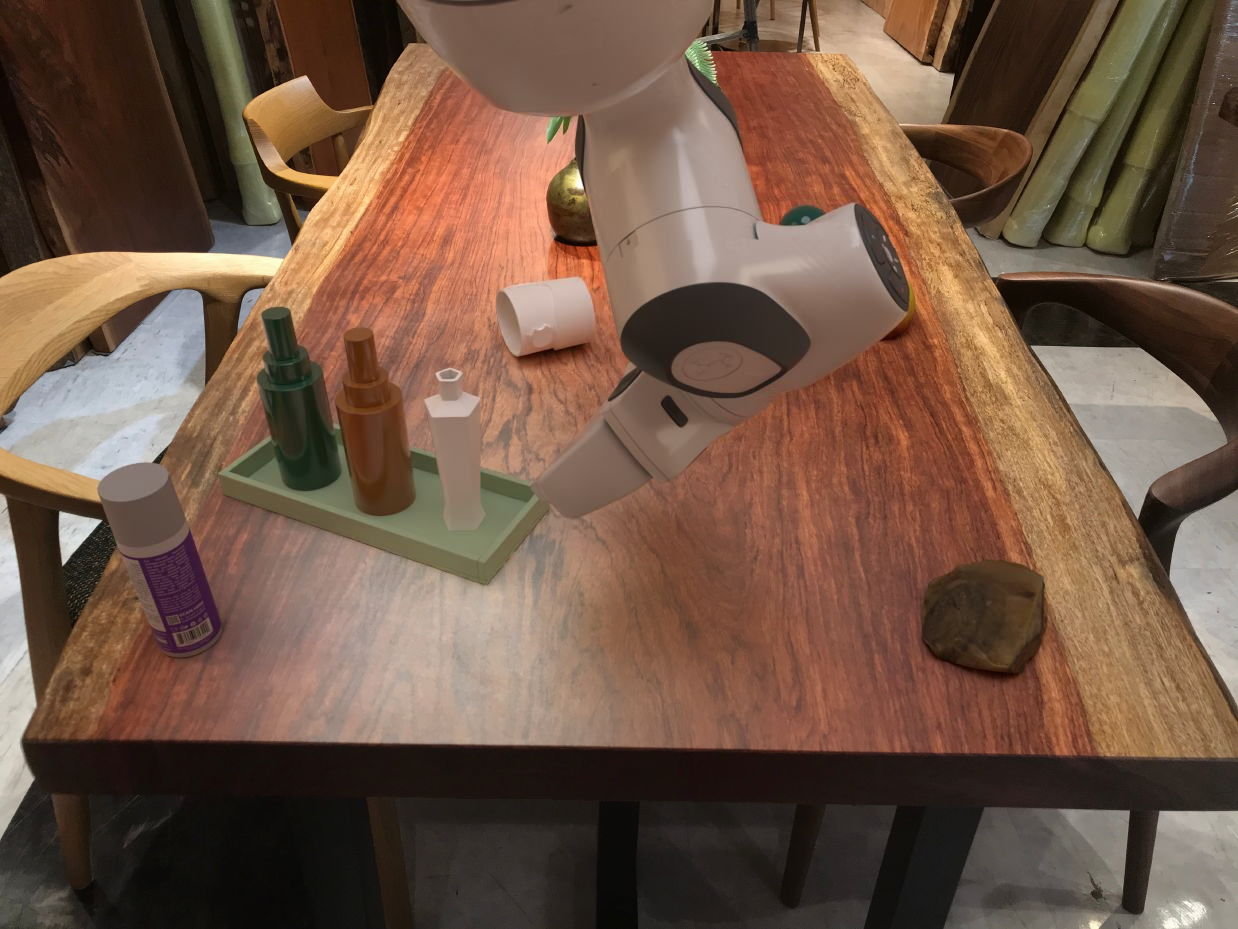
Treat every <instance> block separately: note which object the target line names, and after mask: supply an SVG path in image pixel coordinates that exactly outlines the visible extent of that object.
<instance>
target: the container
mask: <svg viewBox="0 0 1238 929" xmlns="http://www.w3.org/2000/svg"><path fill="white" fill-rule="evenodd" d="M96 488H97V494H98V497H99V500H100V503H101V505H102V508H103V511H104V513H105V516H106V519H107V521H108V524H109V527H110V530H111V533H112V535H113V538H114V540H115V543H116V544H115V545H116V546H117V549H118V551H119V555H120V557H121V559H122V562H123V564H124V566H125V569H126V571H127V573H128V576H129V579H130V580H131V583H132V585H133V588H134V590H135V593H136V595H137V598H138V600H139V603H140V606H141V607H142V610H143V613H144V615H145V617H146V619H147V623H148V624H149V628H150V630H151V632H152V634H153V637H154V639H155V641H156V644H157V647H158V648H159V650H160V651H161V653H162V654H164V655H166V656H168V657H171V658H177V659H178V658H179V659H180V658H182V659H183V658H188V657H193V656H196V655H199V654H201V653H203V652H206V651H207V650H209V649H210V648H211V647H212V646H214V644H216V643H217V642H218V640H219V639H220V637H221V635H222V634H223V623H222V619H221V617H220V613H219V611H218V607H217V605H216V601H215V599H214V596H213V592H212V590H211V587H210V584H209V581H208V578H207V575H206V572H205V569H204V567H203V564H202V560H201V557H200V555H199V551H198V548H197V545H196V542H195V540H194V536H193V533H192V530H191V528H190V525H189V522H188V519H187V517H186V515H185V512H184V510H183V507H182V504H181V501H180V499H179V496H178V493H177V490H176V488H175V485H174V483H173V481H172V478H171V475H170V472H169V470H168V468H166V467H165V466H164V465H162V464H160V463H156V462H136V463H129V464H126V465H124V466H121V467H118V468H116V469H114V470H112V471H111V472H109V473H107V474H106V475H105V476H103V477H102V479H101V480H100V481H99V483H98V485H97V487H96Z"/></svg>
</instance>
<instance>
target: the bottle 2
mask: <svg viewBox="0 0 1238 929" xmlns="http://www.w3.org/2000/svg"><path fill="white" fill-rule="evenodd" d="M342 338H343V345H344V349H345V356H346V360H347V366H348V370H347V371H345V372H344V374H343V375H342V377H341V382H342V388H341V389H340V390H339V391H338V392H337V393H336V395H335V398H334V406H335V409H336V414H337V419H338V424H339V425H340V430H341V436H342V441H343V446H344V451H345V456H346V461H347V466H348V471H349V477H350V482H351V487H352V492H353V497H354V502H355V505H356V507H357V508H358V509H359V510H360V511H361V512H363V513H365V514H368V515H373V516H387V515H392V514H396V513H399V512H401V511H403V510H405V509H406V508H408V507H409V506H410V505H411V504H412V503H413V502H414V500H415V498H416V488H415V481H414V474H413V467H412V460H411V453H410V446H411V445H410V441H409V433H408V426H407V419H406V418H407V417H406V412H405V404H404V397H403V392H402V390H401V388H400V387H399V386H398V385H397V384H395V383H393V382H391V381H390V376H389V372H388V370H387V369H386V368H384V367H382V366H380V365H379V360H378V354H377V348H376V342H375V336H374V331H373V330H372V329H371V328H369V327H365V326H360V327H359V326H357V327H352V328H349V329H347V330H346V331H344V332H343V334H342ZM409 445H410V446H409Z"/></svg>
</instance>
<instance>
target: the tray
mask: <svg viewBox="0 0 1238 929" xmlns="http://www.w3.org/2000/svg"><path fill="white" fill-rule="evenodd" d="M333 425H334V430H335V435H336V440H337V445H338V450H339V455H340V460H341V465H342V472H341V475H340V476H339V478H338V479H337V480H336V481H335V482H333V483H332V484H330V485H328V486H326V487H324V488H321V489H317V490H311V491H298V490H293V489H291V488H288V487H287V486H286V485H284V483H283V482H282V480H281V476H280V472H279V468H278V464H277V460H276V456H275V452H274V448H273V444H272V440H271V436H270V435H268V436H267V437H265V438H264V439H263V440H261V441H259V443H257V444H256V445H255V446H253V447H251V449H249V450H247V451H246V452H245V453H244V454H242V455H240V456H239V457H237V459H235V460H234V461H232V462H231V463H230V464H228V465H227V466H226V467H223V469H221V470H220V471H219V472H218V473H217V476H218V480H219V483H220V486H221V489H222V494H223V495H224V496H225V497H226V496H227V497H229V498H233V499H235V500H238V501H241V502H244V503H247V504H250V505H252V506H256V507H259V508H261V509H264V510H268V511H270V512H272V513H276V514H279V515H282V516H284V517H288V518H291V519H293V520H296V521H299V522H302V523H304V524H305V523H306V524H308V525H310V526H314V527H316V528H319V529H323V530H326V531H328V532H331V533H333V534H337V535H340V536H342V537H345V538H348V539H351V540H354V541H357V542H360V543H362V544H365V545H369V546H372V547H375V548H377V549H380V550H383V551H386V552H389V553H392V554H395V555H398V556H399V557H400V556H401V557H403V558H406V559H409V560H412V561H415V562H417V563H421V564H423V565H426V566H429V567H433V568H436V569H438V570H441V571H443V572H447V573H450V574H452V575H456V576H458V577H461V578H464V579H467V580H470V581H472V582H475V583H478V584H481V585H485V586H487V585H488V584H489V583H490V582H491V580H492V579H493V578H494V577H495V575H496V574H497V573H498V572H499V571H500V570H501V568H502V567H503V566H504V565H505V563H507V561H508V560H509V558H510V557H511V556H512V555H513V554H514V553H515V551H516V550H517V549H518V548H519V546H520V545H521V544H522V542H523V541H524V540H525V539H526V538H527V536H529V534H530V533H531V531H532V530H533V529H534V528H535V527H536V525H537V524H538V523H539V522H540V521H541V520H542V518H543V517H544V516H545V514H546V513H547V512H548V511H549V510H550V509H551V507H550V505H551V504H550V503H549V501H547V502H543V501H541V500H540V499H539V498H538V497H537V496H536V495H535V494H534V492H533V491H532V490H531V488H530V485H531V483H532V482H533V481H531V480H527V479H524V478H520V477H516V476H514V475H510V474H506V473H504V472H500V471H497V470H493V469H490V468H486V467H483V466H480V502H481V504H482V506H483V509H484V511H485V513H486V515H485V517H484V519H483V520H482V522H481V524H480V525H479V527H478V529H477V530H470V531H449V530H448V528H447V526H446V523H445V521H444V518H443V511H444V506H445V500H444V495H443V490H442V485H441V480H440V475H439V470H438V465H437V460H436V455H435V452H434V451H429V450H427V449H423V448H420V447H416V446H413V445H410V444H409V446H410V453H411V460H412V467H413V474H414V481H415V488H416V498H415V500H414V502H413V503H412V504H411V505H410V506H409V507H408V508H406V509H405V510H403V511H401V512H399V513H396V514H392V515H387V516H373V515H368V514H365V513H363V512H361V511H360V510H359V509H358V508H357V507H356V505H355V502H354V497H353V492H352V487H351V482H350V477H349V471H348V466H347V461H346V456H345V451H344V446H343V441H342V436H341V430H340V425H339V423H335V422H333Z"/></svg>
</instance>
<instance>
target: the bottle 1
mask: <svg viewBox="0 0 1238 929" xmlns="http://www.w3.org/2000/svg"><path fill="white" fill-rule="evenodd" d="M260 318H261V321H262V325H263V330H264V335H265V339H266V342H267V347H268V350H266V351H265V352H264V353H263V354H262V362H263V366H264V368H261V369H260V371H259V372H258V373H257V375H256V383H257V389H258V392H259V396H260V401H261V404H262V408H263V412H264V416H265V419H266V424H267V427H268V431H269V436H271V440H272V444H273V448H274V452H275V456H276V460H277V464H278V468H279V472H280V476H281V480H282V482H283V483H284V485H286V486H287V487H288V488H291V489H293V490H298V491H311V490H317V489H321V488H324V487H326V486H328V485H330V484H332V483H333V482H335V481H336V480H337V479H338V478H339V476H340V475H341V472H342V465H341V460H340V455H339V450H338V445H337V440H336V435H335V430H334V425H333V423H334V421H333V416H332V412H331V406H330V401H329V395H328V390H327V386H326V381H325V376H324V370H323V368H322V366H321V365H320V364H319V363H317V362H316V361H313V360H310V355H309V351H308V349H307V348H306V347H305V346H303V345H300V344H299V343H298V339H297V335H296V329H295V325H294V321H293V315H292V311H291V309H290V308H289V307H286V306H272V307H268V308H266V309H264V310H262V311H261V313H260Z"/></svg>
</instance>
